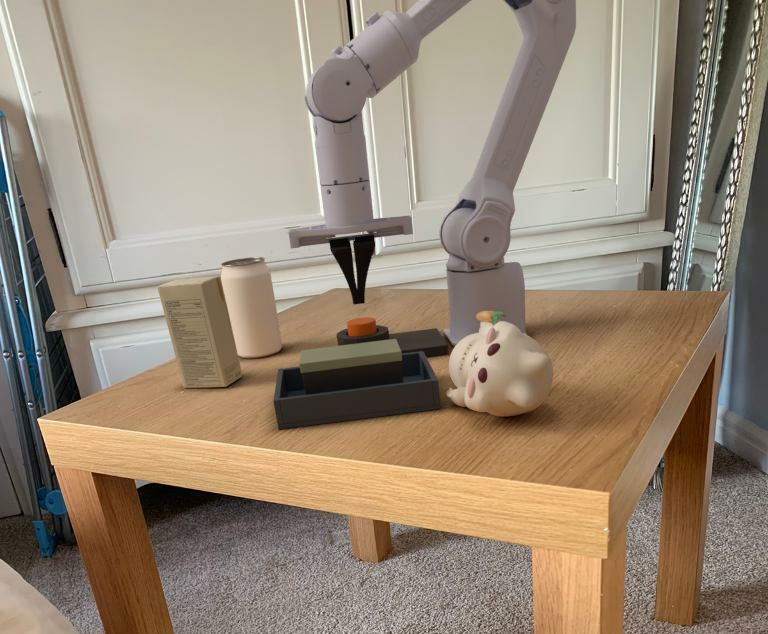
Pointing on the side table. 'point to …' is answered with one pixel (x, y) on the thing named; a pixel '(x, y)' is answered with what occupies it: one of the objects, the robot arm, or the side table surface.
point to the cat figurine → (499, 369)
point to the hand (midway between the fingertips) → (358, 302)
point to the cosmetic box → (200, 331)
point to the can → (251, 307)
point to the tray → (356, 396)
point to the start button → (361, 326)
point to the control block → (402, 340)
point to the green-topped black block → (351, 366)
